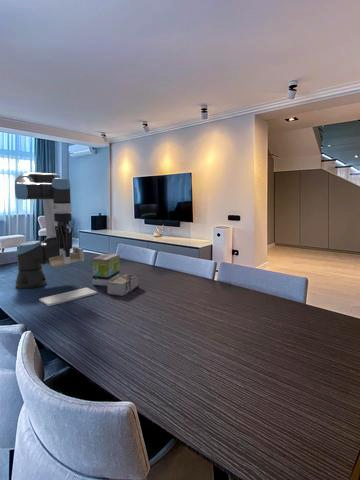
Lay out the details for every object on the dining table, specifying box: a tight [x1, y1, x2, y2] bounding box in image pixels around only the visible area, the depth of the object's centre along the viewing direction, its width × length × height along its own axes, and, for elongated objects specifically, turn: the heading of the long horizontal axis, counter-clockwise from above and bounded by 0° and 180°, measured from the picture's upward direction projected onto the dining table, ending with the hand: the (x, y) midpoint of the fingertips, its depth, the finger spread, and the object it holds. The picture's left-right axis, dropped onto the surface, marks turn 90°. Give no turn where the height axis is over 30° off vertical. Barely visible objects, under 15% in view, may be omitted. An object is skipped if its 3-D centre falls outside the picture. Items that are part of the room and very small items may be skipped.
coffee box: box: [106, 274, 140, 297], centre depth 155 cm, size 9×6×16 cm
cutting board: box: [38, 287, 98, 307], centre depth 145 cm, size 10×24×1 cm, turn 136°
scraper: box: [49, 246, 85, 268], centre depth 142 cm, size 8×14×6 cm, turn 136°
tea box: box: [91, 253, 121, 286], centre depth 170 cm, size 15×10×15 cm, turn 168°
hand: (65, 262), depth 142 cm, fingers closed on scraper, 3 cm apart
